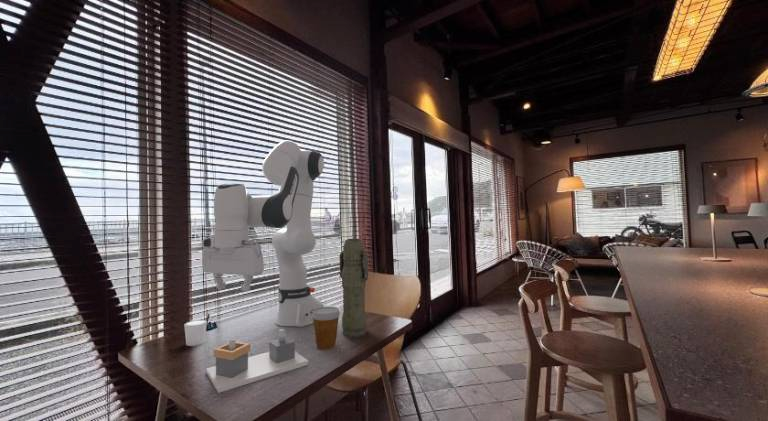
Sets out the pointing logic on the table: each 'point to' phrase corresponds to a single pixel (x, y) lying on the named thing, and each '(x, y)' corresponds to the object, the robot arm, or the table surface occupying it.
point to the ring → (231, 355)
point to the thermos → (354, 287)
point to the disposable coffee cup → (325, 326)
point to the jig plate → (255, 364)
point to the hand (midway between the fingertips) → (233, 289)
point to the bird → (210, 324)
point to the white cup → (195, 332)
